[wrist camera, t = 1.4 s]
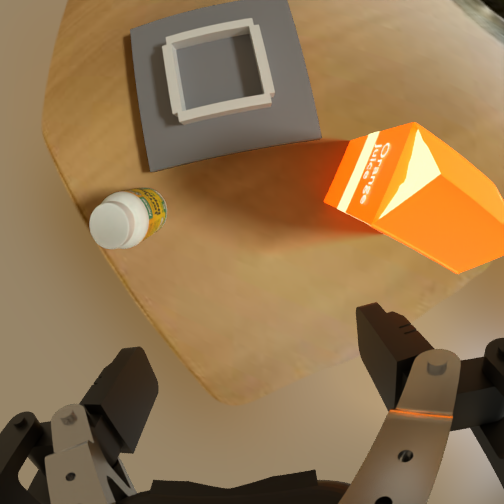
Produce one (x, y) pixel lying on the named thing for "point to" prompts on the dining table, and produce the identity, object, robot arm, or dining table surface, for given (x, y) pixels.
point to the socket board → (222, 82)
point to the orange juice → (421, 196)
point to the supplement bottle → (127, 218)
